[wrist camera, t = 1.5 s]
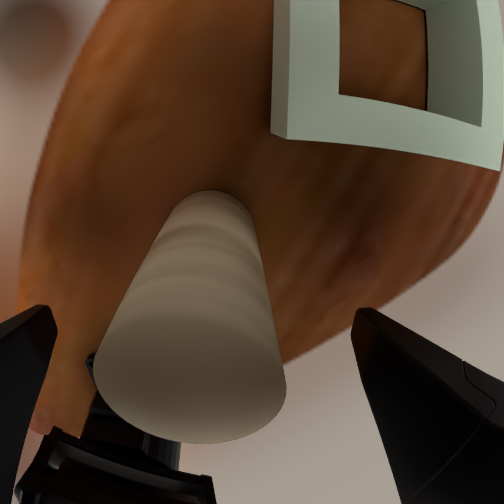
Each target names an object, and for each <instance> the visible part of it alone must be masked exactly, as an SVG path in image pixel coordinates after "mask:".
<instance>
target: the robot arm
mask: <svg viewBox="0 0 504 504" xmlns="http://www.w3.org/2000/svg"><path fill="white" fill-rule="evenodd" d="M57 333H58V331H57V326H56V323H55V320H54V317H53V314H52V311H51V309H50V307H49V306H47V305H39V304H38V305H35V306H33V307H31V308H29V309H27V310H25V311H23V312H21V313H19V314H17V315H16V316H14V317H12V318H10V319H8V320H6V321H4V322H2V323H0V504H11V501H12V495H13V488H14V484H15V479H16V474H17V470H18V465H19V461H20V457H21V453H22V449H23V445H24V441H25V438H26V434H27V431H28V427H29V424H30V421H31V417H32V414H33V411H34V408H35V405H36V402H37V399H38V396H39V393H40V390H41V387H42V385H43V382H44V379H45V376H46V373H47V369H48V366H49V362H50V358H51V355H52V351H53V348H54V344H55V341H56V338H57ZM351 341H352V344H353V348H354V352H355V356H356V361H357V365H358V369H359V373H360V377H361V381H362V384H363V387H364V390H365V393H366V395H367V399H368V401H369V404H370V407H371V410H372V413H373V415H374V418H375V421H376V424H377V427H378V430H379V433H380V436H381V439H382V442H383V445H384V448H385V451H386V454H387V457H388V461H389V464H390V467H391V470H392V473H393V477H394V480H395V483H396V486H397V490H398V493H399V496H400V500H401V503H402V504H504V382H503V381H501V380H499V379H497V378H495V377H493V376H491V375H489V374H487V373H485V372H483V371H481V370H480V369H478V368H476V367H474V366H472V365H471V364H469V363H467V362H466V361H462V359H460V358H459V357H457V356H455V355H453V354H452V353H450V352H448V351H446V350H445V349H443V348H441V347H439V346H438V345H436V344H434V343H432V342H431V341H429V340H427V339H426V338H424V337H422V336H420V335H418V334H417V333H415V332H413V331H412V330H410V329H408V328H406V327H404V326H403V325H401V324H399V323H398V322H396V321H394V320H392V319H390V318H389V317H387V316H385V315H384V314H382V313H380V312H378V311H377V310H375V309H373V308H370V307H368V308H359V309H357V311H356V313H355V317H354V322H353V326H352V330H351ZM94 359H95V355H88V357H87V359H86V361H85V363H86V366H87V368H88V371H89V373H90V376H91V378H92V380H93V383H94V385H95V387H96V391H95V393H94V396H93V399H92V401H91V404H90V407H89V413H88V415H87V418H86V421H85V424H84V427H83V430H82V433H81V436H80V439H79V438H77V437H74V436H72V435H70V434H68V433H65V432H64V430H62V429H60V428H58V427H56V426H53V428H52V430H51V432H50V434H49V435H44V437H43V440H42V442H41V445H40V447H39V450H38V452H37V454H36V456H35V457H34V459H33V462H32V463H31V464H30V466H29V467H28V469H27V470H26V471H25V473H24V475H23V476H22V477H21V479H20V480H19V482H18V483H17V485H16V487H15V490H14V494H15V496H16V498H17V500H18V501H19V504H217V503H216V498H215V492H214V487H213V482H212V477H211V476H207V475H200V476H199V475H195V474H190V473H185V472H181V471H178V470H179V458H180V448H181V442H177V441H172V440H168V439H164V438H161V437H157V436H155V435H152V434H149V433H147V432H145V431H143V430H141V429H139V428H137V427H135V426H133V425H132V424H130V423H128V422H127V421H126V420H124V419H123V418H121V417H120V416H119V415H118V414H117V413H116V412H114V411H113V410H112V409H111V408H110V406H109V405H108V404H107V403H106V402H105V400H104V399H103V397H102V396H101V394H100V392H99V390H98V389H97V386H96V383H95V380H94V375H93V362H94Z"/></svg>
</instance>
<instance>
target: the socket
mask: <svg viewBox="0 0 504 504" xmlns="http://www.w3.org/2000/svg"><path fill="white" fill-rule="evenodd" d="M398 1H401V2H404V3H407V4H410V5H412V6H415V7H418V8H421V9H423V10H426V21H427V38H428V103H427V111H423V110H419V109H415V108H410V107H406V106H401V105H397V104H392V103H387V102H382V101H376V100H371V99H365V98H359V97H353V96H346V95H339V53H340V26H339V0H274V24H273V65H272V99H271V129H270V133H272V134H275V135H277V136H280V137H282V138H285V139H291V140H307V141H321V142H333V143H343V144H353V145H362V146H370V147H378V148H385V149H392V150H399V151H405V152H412V153H418V154H423V155H429V156H434V157H440V158H445V159H450V160H454V161H459V162H464V163H468V164H473V165H477V166H481V167H485V168H489V169H493V170H497V171H500V167H501V159H502V150H503V140H504V42H503V32H502V24H501V17H500V10H499V4H498V0H398Z"/></svg>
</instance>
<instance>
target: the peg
mask: <svg viewBox="0 0 504 504" xmlns="http://www.w3.org/2000/svg"><path fill="white" fill-rule="evenodd" d="M93 375H94V380H95V383H96V386H97V389H98V390H99V392H100V394H101V396H102V397H103V399H104V400H105V402H106V403H107V404H108V405H109V406H110V408H111V409H112V410H113V411H114V412H116V413H117V414H118V415H119V416H120V417H121V418H123V419H124V420H126V421H127V422H128V423H130V424H132V425H133V426H135V427H137V428H139V429H141V430H143V431H145V432H147V433H149V434H152V435H155V436H157V437H161V438H164V439H168V440H172V441H177V442H183V443H194V444H211V443H221V442H227V441H231V440H236V439H239V438H242V437H245V436H247V435H249V434H252V433H254V432H256V431H258V430H259V429H261V428H263V427H264V426H265V425H267V424H268V423H269V422H270V421H271V420H272V419H273V418H274V417H275V416H276V415H277V414H278V412H279V411H280V410H281V408H282V405H283V403H284V400H285V397H286V381H285V375H284V370H283V365H282V360H281V355H280V350H279V345H278V340H277V335H276V330H275V325H274V320H273V315H272V310H271V305H270V300H269V295H268V290H267V285H266V280H265V275H264V270H263V265H262V260H261V256H260V251H259V246H258V241H257V236H256V231H255V226H254V222H253V219H252V217H251V215H250V213H249V211H248V210H247V208H246V207H245V206H244V205H243V204H242V203H241V202H240V201H239V200H238V199H236V198H235V197H233V196H231V195H229V194H227V193H224V192H220V191H211V190H208V191H200V192H196V193H193V194H191V195H189V196H187V197H185V198H184V199H182V200H181V201H180V202H179V203H178V204H177V205H176V206H175V207H174V209H173V210H172V212H171V214H170V215H169V217H168V219H167V220H166V222H165V224H164V225H163V227H162V229H161V231H160V232H159V234H158V236H157V237H156V239H155V241H154V243H153V244H152V246H151V248H150V250H149V251H148V253H147V255H146V257H145V259H144V260H143V262H142V264H141V266H140V268H139V269H138V271H137V273H136V275H135V277H134V279H133V281H132V282H131V284H130V286H129V288H128V290H127V292H126V294H125V296H124V298H123V300H122V302H121V304H120V305H119V307H118V309H117V311H116V313H115V315H114V317H113V319H112V321H111V323H110V326H109V328H108V330H107V332H106V334H105V336H104V338H103V340H102V342H101V344H100V346H99V349H98V351H97V353H96V355H95V359H94V363H93Z"/></svg>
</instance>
